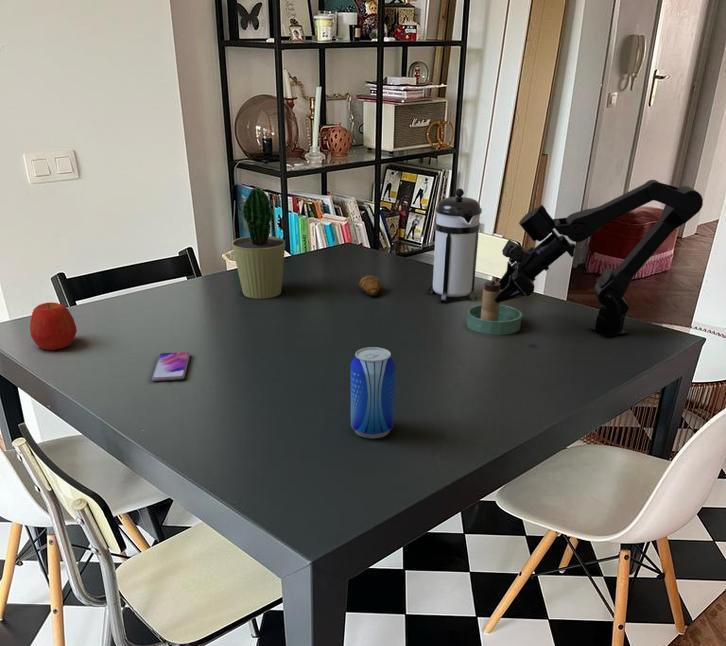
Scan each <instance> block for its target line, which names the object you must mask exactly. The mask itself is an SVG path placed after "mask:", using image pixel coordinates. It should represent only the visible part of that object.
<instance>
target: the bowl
mask: <svg viewBox="0 0 726 646" xmlns="http://www.w3.org/2000/svg"><path fill="white" fill-rule="evenodd" d="M481 307H482V304H478V305H474V306H471V307H470V308H468V310H467V312H466V313H467V314H466V315H467V316H466V326H467V328H468V329H470V330H471V331H473V332H476V333H479V334H484V335H490V336H503V335H512V334H515V333H518V331H520V330H521V326H522V319H523V318H522V317H523V312H522V311H521V310H519V309H517V308H515V307H512V306H509V305H504V304H500V306H499V315H498V321H488V320H482V319H480V318H481Z"/></svg>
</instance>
